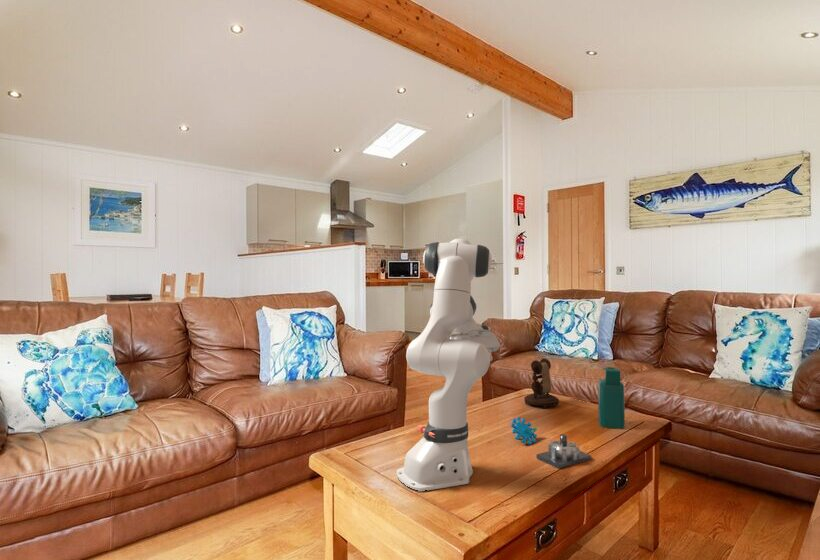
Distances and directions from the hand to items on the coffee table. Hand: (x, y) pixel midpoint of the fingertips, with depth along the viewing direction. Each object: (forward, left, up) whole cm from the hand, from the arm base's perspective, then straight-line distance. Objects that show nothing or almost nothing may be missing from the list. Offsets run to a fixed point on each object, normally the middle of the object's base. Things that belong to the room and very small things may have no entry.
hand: (484, 360), depth 172 cm
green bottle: (+39, -26, -25) cm, 53 cm away
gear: (0, -22, -25) cm, 33 cm away
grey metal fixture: (0, -39, -24) cm, 46 cm away
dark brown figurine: (+37, +8, -25) cm, 45 cm away
